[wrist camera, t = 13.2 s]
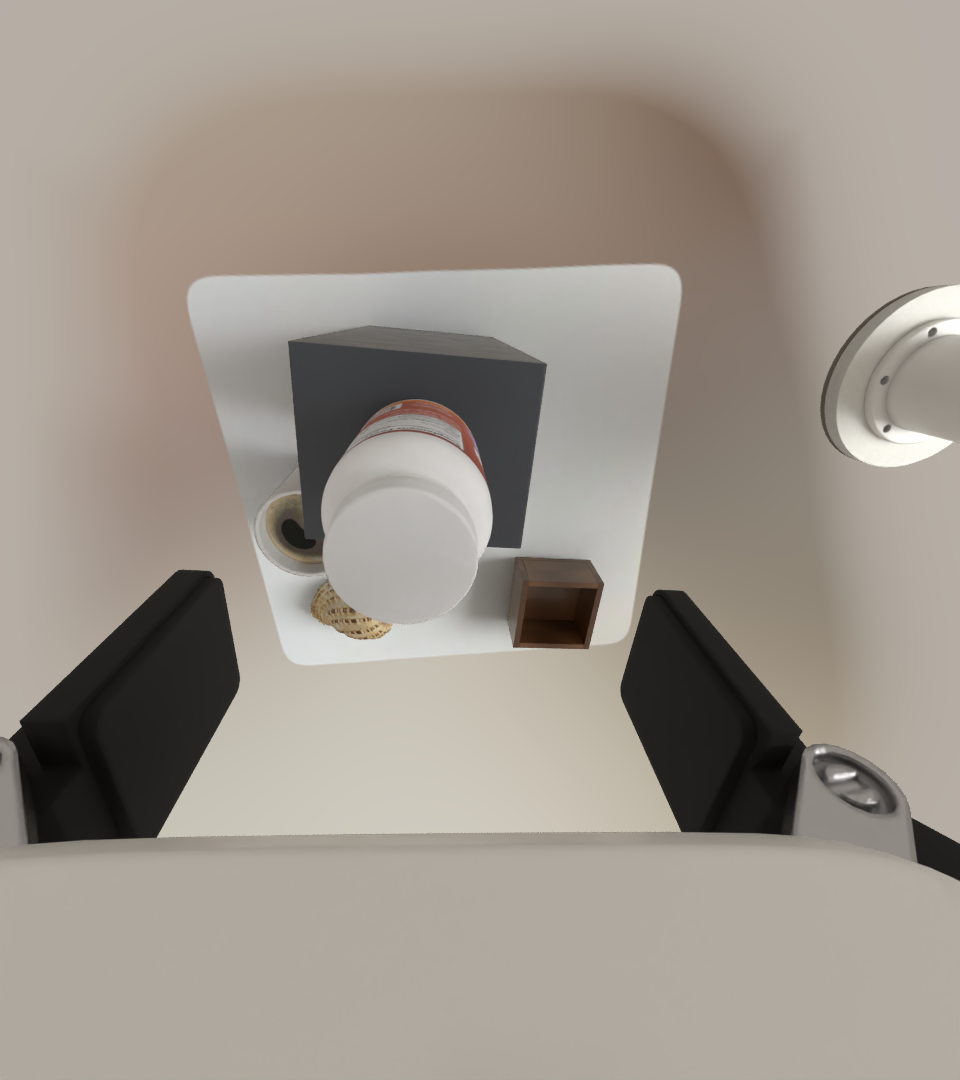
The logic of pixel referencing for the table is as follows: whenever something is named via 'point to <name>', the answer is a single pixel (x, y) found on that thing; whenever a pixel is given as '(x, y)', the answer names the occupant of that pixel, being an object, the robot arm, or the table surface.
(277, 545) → the mug
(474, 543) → the pill bottle
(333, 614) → the seashell
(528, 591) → the wooden box
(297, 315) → the table surface
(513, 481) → the block
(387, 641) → the table surface
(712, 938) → the robot arm
